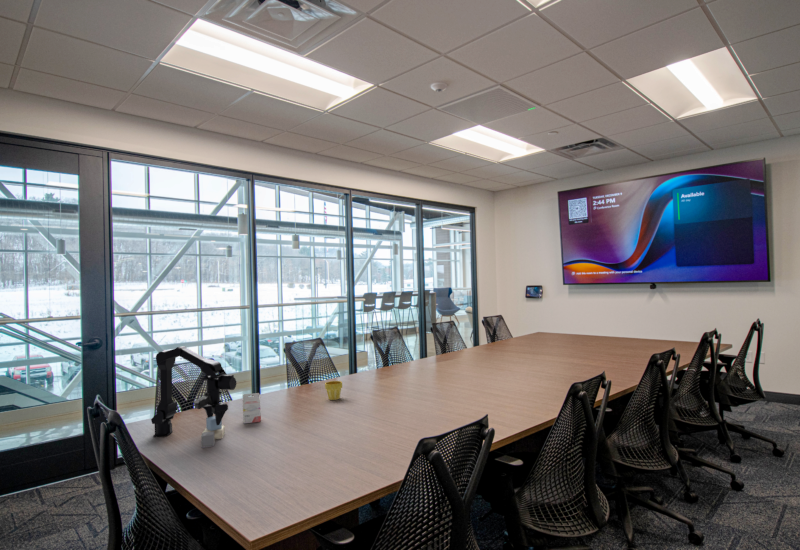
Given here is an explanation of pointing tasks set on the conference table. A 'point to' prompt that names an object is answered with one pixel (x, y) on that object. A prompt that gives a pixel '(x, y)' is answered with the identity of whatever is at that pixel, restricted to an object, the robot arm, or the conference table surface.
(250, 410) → the ink cartridge box
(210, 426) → the blue cube
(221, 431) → the maple block
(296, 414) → the conference table surface
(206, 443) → the grey cube
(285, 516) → the conference table surface
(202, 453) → the conference table surface
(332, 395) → the plant pot
